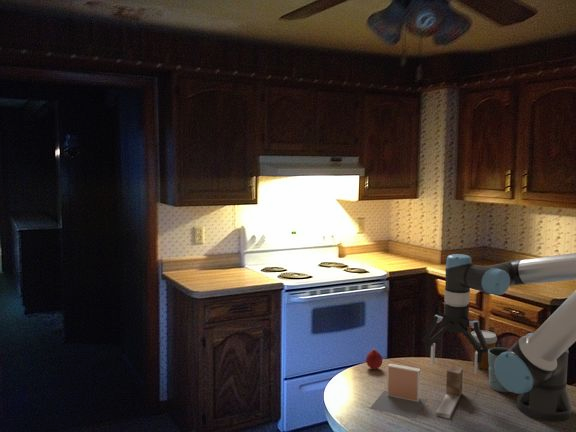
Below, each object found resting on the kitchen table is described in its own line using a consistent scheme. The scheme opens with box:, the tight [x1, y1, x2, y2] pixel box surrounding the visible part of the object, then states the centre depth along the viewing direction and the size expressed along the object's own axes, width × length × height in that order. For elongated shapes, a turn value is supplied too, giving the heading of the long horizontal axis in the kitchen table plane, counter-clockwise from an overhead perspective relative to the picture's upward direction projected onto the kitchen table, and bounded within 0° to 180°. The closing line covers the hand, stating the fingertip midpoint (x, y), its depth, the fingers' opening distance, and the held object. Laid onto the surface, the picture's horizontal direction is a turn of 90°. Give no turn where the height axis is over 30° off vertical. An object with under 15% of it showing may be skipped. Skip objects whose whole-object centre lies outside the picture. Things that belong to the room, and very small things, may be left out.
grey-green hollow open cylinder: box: [488, 346, 511, 393], centre depth 185 cm, size 10×10×12 cm
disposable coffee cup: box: [470, 329, 498, 370], centre depth 203 cm, size 10×10×12 cm
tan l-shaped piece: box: [435, 365, 464, 419], centre depth 171 cm, size 4×19×9 cm, turn 152°
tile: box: [386, 363, 421, 402], centre depth 176 cm, size 10×2×10 cm, turn 62°
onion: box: [365, 348, 383, 371], centre depth 199 cm, size 6×6×8 cm
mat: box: [369, 390, 428, 419], centre depth 172 cm, size 14×14×1 cm
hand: (453, 368), depth 177 cm, fingers open, 13 cm apart
